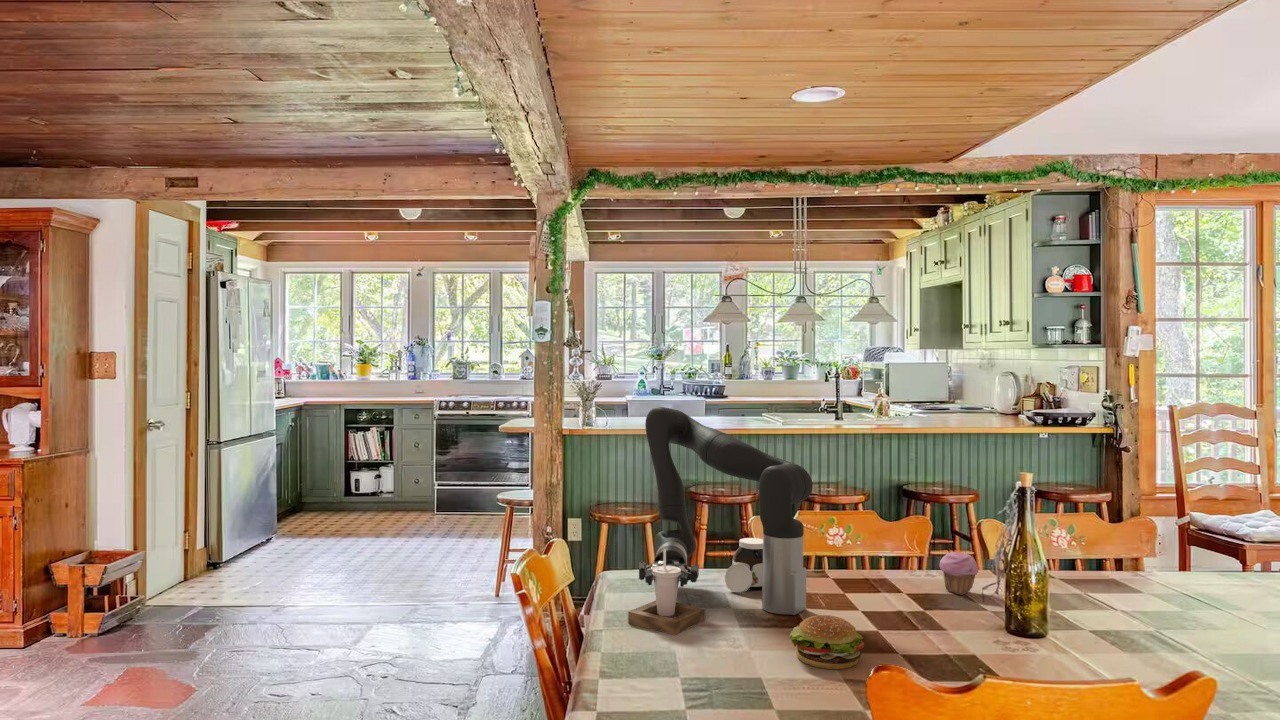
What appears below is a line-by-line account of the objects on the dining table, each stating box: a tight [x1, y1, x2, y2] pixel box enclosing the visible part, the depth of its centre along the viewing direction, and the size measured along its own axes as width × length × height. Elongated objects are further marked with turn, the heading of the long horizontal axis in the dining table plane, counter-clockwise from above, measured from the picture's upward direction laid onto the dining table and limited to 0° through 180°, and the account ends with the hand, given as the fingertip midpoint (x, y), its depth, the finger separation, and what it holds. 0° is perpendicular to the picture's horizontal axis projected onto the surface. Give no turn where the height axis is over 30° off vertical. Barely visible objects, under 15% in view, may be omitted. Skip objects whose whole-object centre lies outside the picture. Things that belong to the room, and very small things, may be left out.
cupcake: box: [939, 551, 979, 596], centre depth 201 cm, size 9×9×10 cm
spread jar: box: [724, 537, 763, 594], centre depth 202 cm, size 12×11×12 cm
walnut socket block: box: [627, 599, 706, 636], centre depth 175 cm, size 12×12×2 cm
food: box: [789, 614, 865, 670], centre depth 155 cm, size 14×14×8 cm
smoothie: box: [652, 549, 681, 617], centre depth 175 cm, size 6×6×14 cm
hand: (665, 581), depth 173 cm, fingers closed on smoothie, 6 cm apart
